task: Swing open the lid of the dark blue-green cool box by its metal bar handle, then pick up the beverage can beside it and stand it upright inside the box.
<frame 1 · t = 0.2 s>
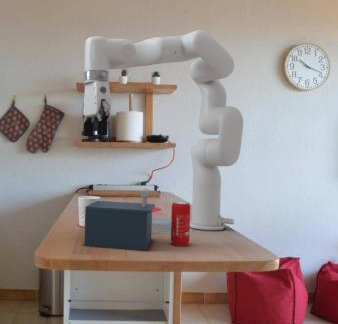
hand: (94, 135, 118), 31 cm above the counter, tool pointing down, fingers open, 9 cm apart
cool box: (119, 242, 112), on the counter
beverage can: (179, 244, 112), on the counter
lid: (121, 198, 112), point 13 cm above the counter, hinge at 0.0°
white cup: (88, 226, 137), on the counter
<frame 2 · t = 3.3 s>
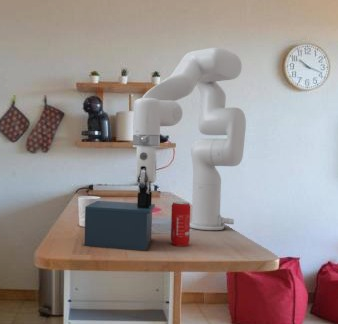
hand: (144, 205, 110), 11 cm above the counter, tool pointing down, fingers closed on lid, 5 cm apart
lid: (121, 198, 112), point 13 cm above the counter, hinge at -0.1°, touching gripper
everything else where it was.
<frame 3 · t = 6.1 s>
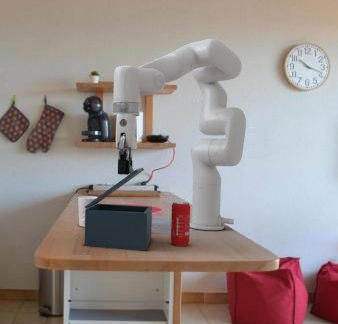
hand: (125, 173, 111), 20 cm above the counter, tool pointing down, fingers closed on lid, 5 cm apart
lid: (110, 180, 112), point 18 cm above the counter, hinge at 37.6°, touching gripper
everything else where it was.
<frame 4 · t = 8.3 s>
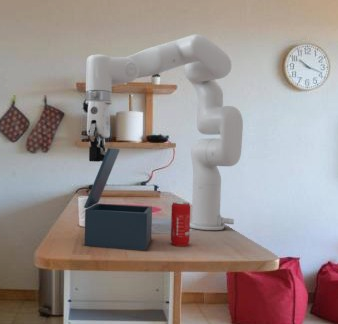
hand: (97, 160, 113), 23 cm above the counter, tool pointing down, fingers closed on lid, 5 cm apart
lid: (95, 173, 114), point 20 cm above the counter, hinge at 69.0°, touching gripper
everything else where it was.
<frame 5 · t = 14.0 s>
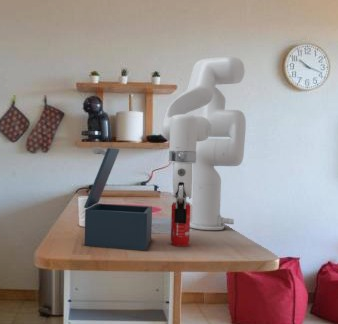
hand: (180, 220, 112), 7 cm above the counter, tool pointing down, fingers closed on beverage can, 5 cm apart
beverage can: (179, 244, 112), on the counter, touching gripper
lid: (95, 173, 114), point 20 cm above the counter, hinge at 69.2°
everything else where it was.
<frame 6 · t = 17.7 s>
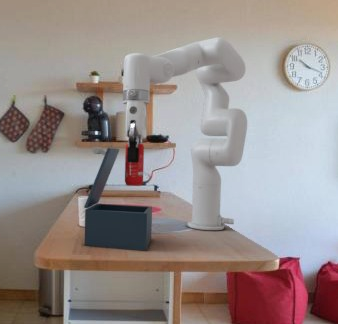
hand: (134, 161, 111), 24 cm above the counter, tool pointing down, fingers closed on beverage can, 5 cm apart
beverage can: (133, 186, 111), point 17 cm above the counter, touching gripper
everything else where it was.
when the fingers open (8 cm above the counter, at t = 21.8 s): beverage can stays where it is, resting on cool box.
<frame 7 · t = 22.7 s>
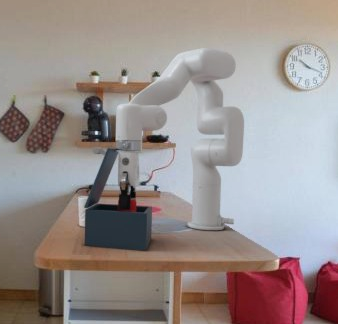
hand: (127, 207, 112), 10 cm above the counter, tool pointing down, fingers open, 9 cm apart
beverage can: (126, 240, 112), point 1 cm above the counter, touching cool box
everything else where it was.
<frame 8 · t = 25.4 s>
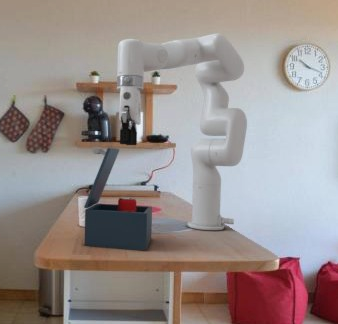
hand: (128, 144, 111), 28 cm above the counter, tool pointing down, fingers open, 9 cm apart
nothing on the counter moved.
at the end: lid at +69° (first picture: +0°); beverage can inside the target area in the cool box (2.0 cm from its centre), point 0.8 cm above the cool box's base; beverage can tilted 0° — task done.
